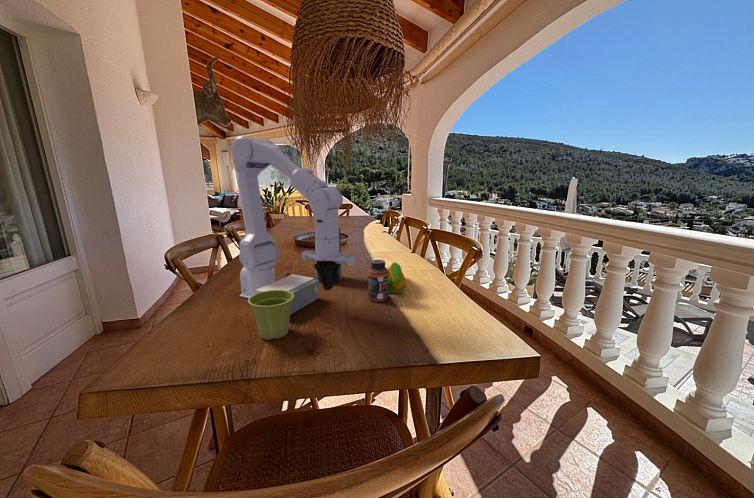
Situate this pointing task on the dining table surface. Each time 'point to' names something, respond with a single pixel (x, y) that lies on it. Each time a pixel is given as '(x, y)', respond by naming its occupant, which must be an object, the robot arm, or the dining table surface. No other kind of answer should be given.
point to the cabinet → (287, 283)
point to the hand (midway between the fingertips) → (328, 288)
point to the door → (304, 295)
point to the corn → (395, 279)
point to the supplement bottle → (378, 281)
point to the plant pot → (272, 312)
